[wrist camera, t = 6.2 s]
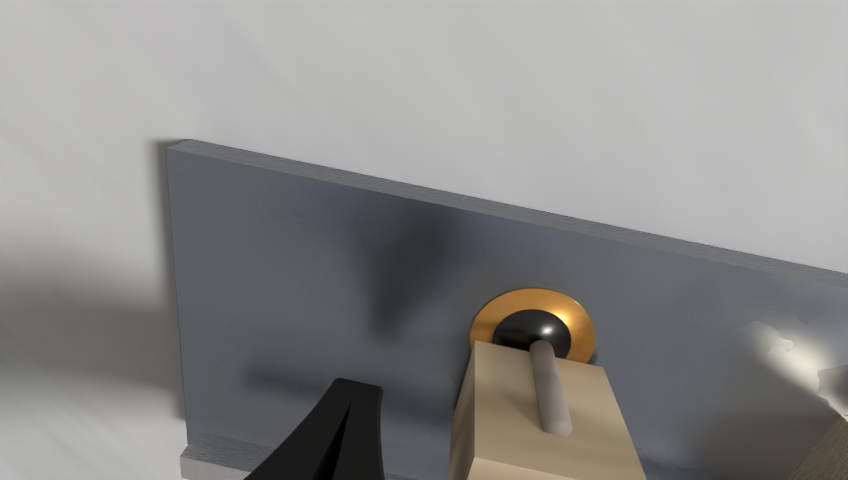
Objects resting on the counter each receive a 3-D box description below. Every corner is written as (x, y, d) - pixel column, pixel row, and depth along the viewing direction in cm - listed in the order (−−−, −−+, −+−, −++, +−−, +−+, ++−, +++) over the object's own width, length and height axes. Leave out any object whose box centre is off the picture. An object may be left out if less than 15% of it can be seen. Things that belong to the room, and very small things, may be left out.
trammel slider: (566, 448, 15) (597, 586, 11) (451, 423, 15) (443, 552, 11) (610, 353, 13) (663, 479, 9) (478, 325, 13) (480, 439, 10)
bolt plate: (846, 561, 18) (873, 598, 17) (204, 420, 19) (186, 445, 17) (1087, 323, 13) (1148, 352, 12) (190, 139, 13) (163, 148, 12)
